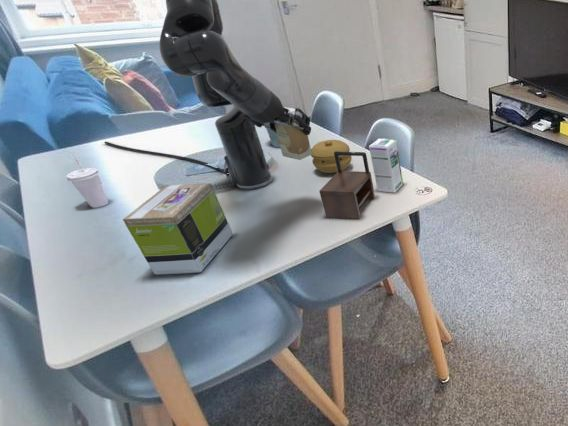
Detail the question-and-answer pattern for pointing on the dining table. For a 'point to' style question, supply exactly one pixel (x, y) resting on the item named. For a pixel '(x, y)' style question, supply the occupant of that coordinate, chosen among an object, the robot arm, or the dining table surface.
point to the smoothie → (88, 185)
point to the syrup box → (386, 165)
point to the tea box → (179, 228)
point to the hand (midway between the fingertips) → (294, 131)
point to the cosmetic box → (293, 141)
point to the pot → (330, 155)
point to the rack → (347, 190)
